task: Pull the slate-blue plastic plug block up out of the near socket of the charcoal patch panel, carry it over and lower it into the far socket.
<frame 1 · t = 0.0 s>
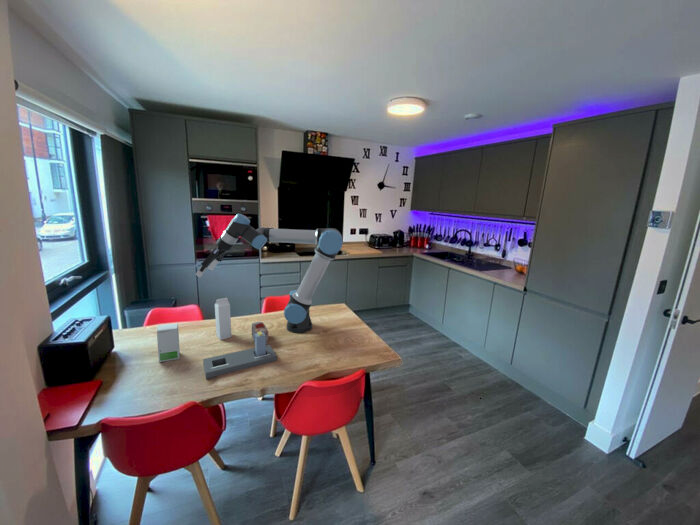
hand: (204, 272, 149), 36 cm above the table, tool tilted 35°, fingers open, 13 cm apart
skincare box: (170, 357, 135), on the table
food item: (259, 341, 154), on the table
panel: (240, 363, 132), on the table
plug: (260, 357, 137), resting on panel
milk: (224, 336, 157), on the table
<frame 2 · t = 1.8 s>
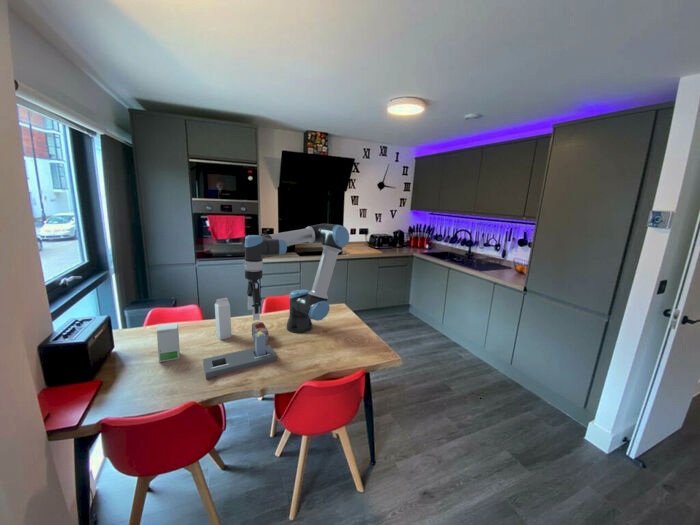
hand: (253, 314, 132), 22 cm above the table, tool pointing down, fingers open, 13 cm apart
nothing on the table moved.
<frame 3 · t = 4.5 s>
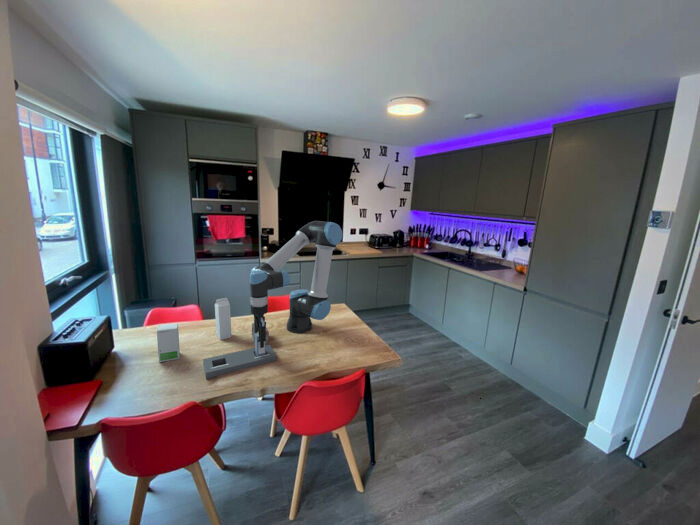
hand: (260, 350, 136), 4 cm above the table, tool pointing down, fingers closed on plug, 4 cm apart
plug: (260, 357, 137), point 1 cm above the table, touching gripper, panel
everything else where it was.
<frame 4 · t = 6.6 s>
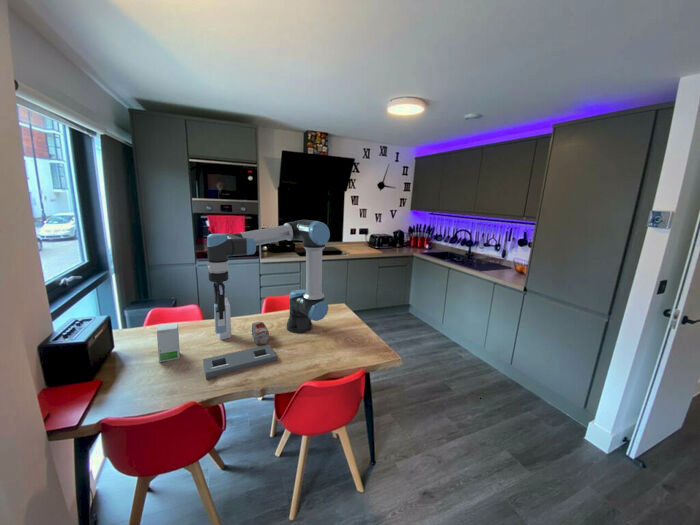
hand: (220, 323, 124), 21 cm above the table, tool pointing down, fingers closed on plug, 4 cm apart
plug: (220, 331, 124), point 18 cm above the table, touching gripper
everything else where it was.
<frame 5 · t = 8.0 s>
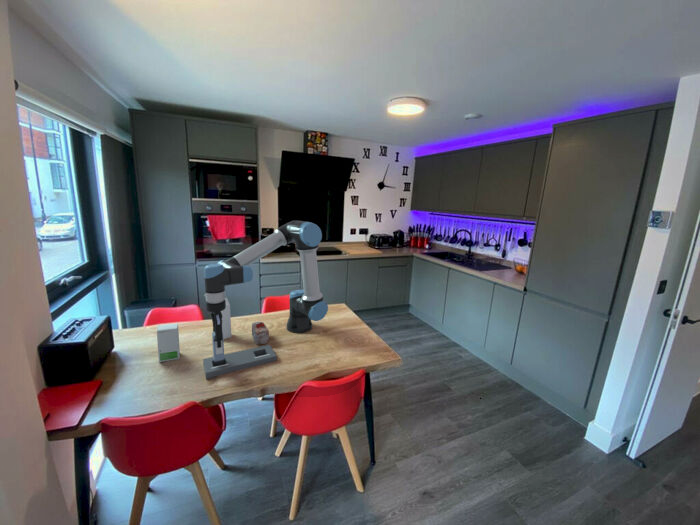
hand: (218, 350, 126), 9 cm above the table, tool pointing down, fingers closed on plug, 4 cm apart
plug: (218, 358, 127), point 5 cm above the table, touching gripper
everything else where it was.
when the fingers open (5 cm above the table, at t = 8.9 s): plug drops 1 cm, resting on panel.
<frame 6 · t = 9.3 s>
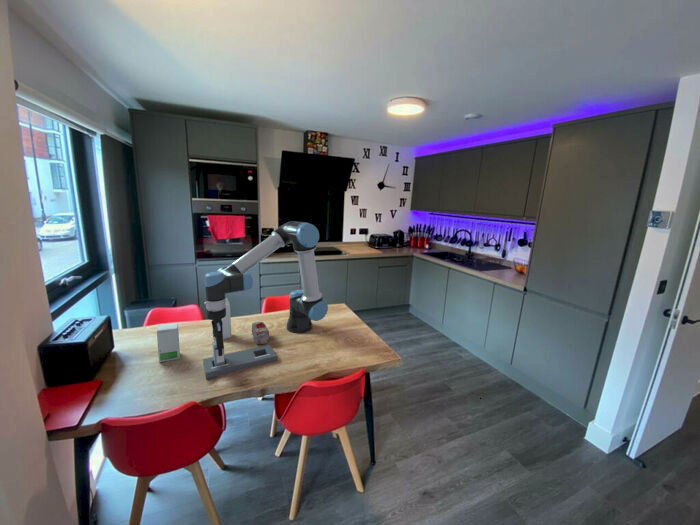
hand: (218, 356, 126), 6 cm above the table, tool pointing down, fingers open, 9 cm apart
plug: (219, 367, 128), resting on panel
everything else where it was.
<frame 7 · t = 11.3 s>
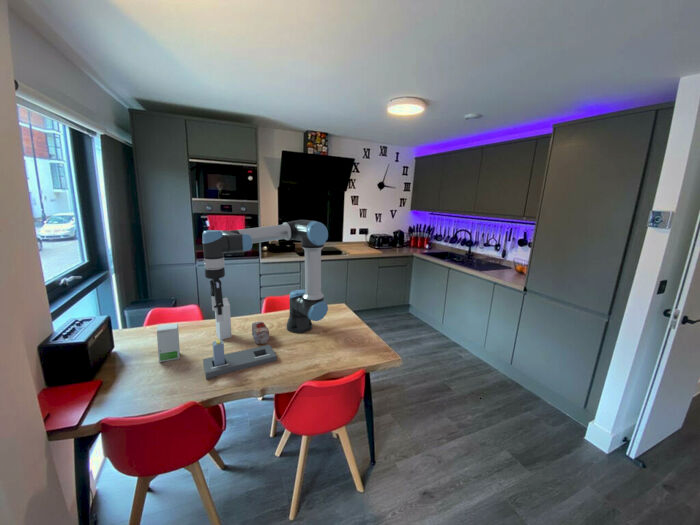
hand: (217, 315, 123), 25 cm above the table, tool pointing down, fingers open, 13 cm apart
nothing on the table moved.
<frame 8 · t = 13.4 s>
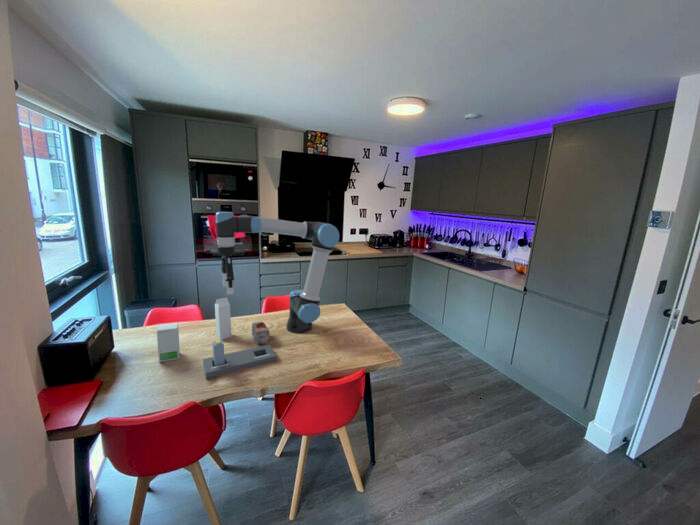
hand: (228, 289, 136), 32 cm above the table, tool pointing down, fingers open, 13 cm apart
nothing on the table moved.
at the end: plug 0.0 cm from the target spot on the panel, point 0.5 cm above the panel's base; plug tilted 0°; the gripper is holding nothing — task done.
